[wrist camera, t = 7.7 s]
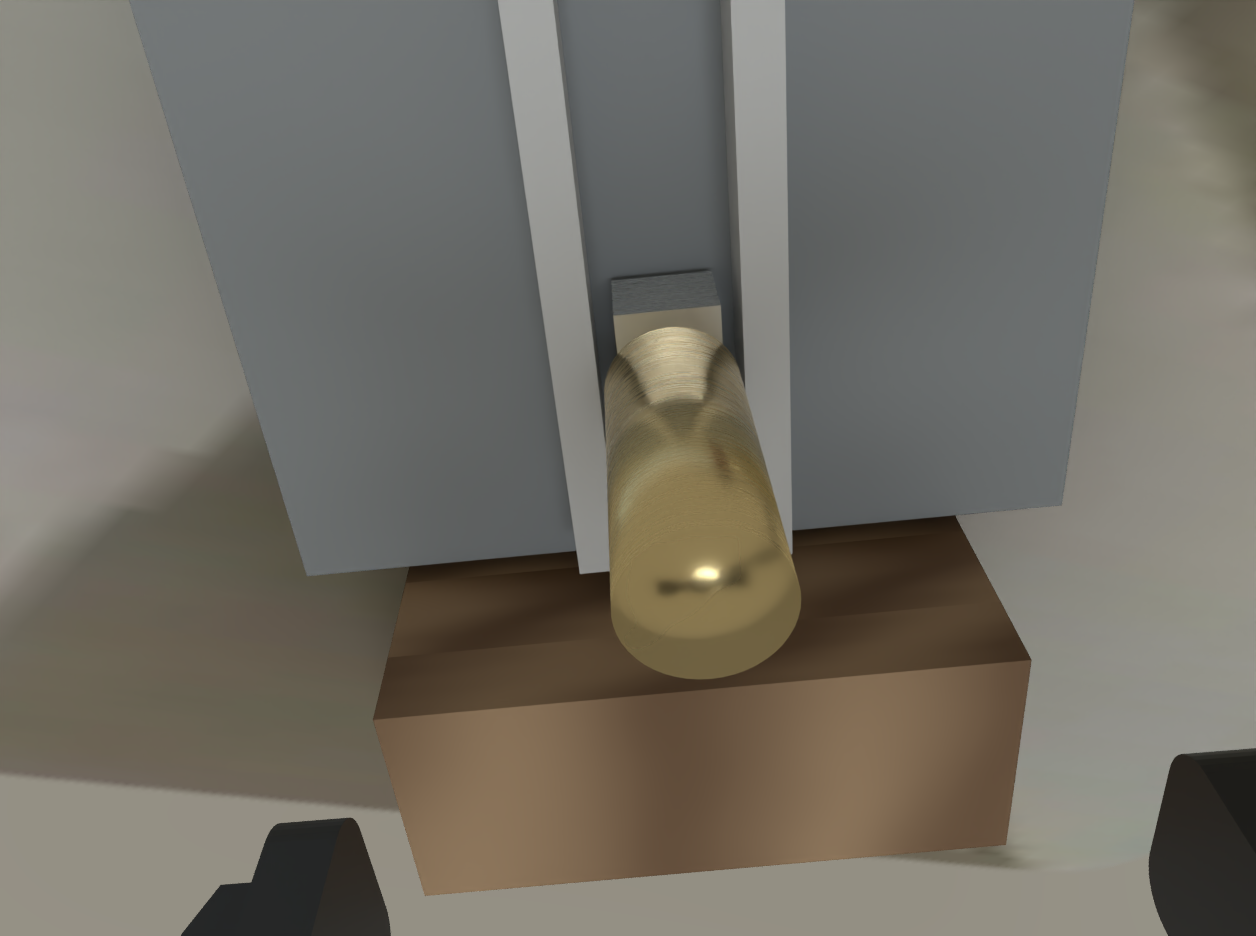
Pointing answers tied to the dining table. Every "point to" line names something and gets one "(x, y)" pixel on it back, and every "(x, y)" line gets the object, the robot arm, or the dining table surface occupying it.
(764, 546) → the bolt
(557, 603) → the jamb keeper
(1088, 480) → the dining table surface
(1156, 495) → the dining table surface
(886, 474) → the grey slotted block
